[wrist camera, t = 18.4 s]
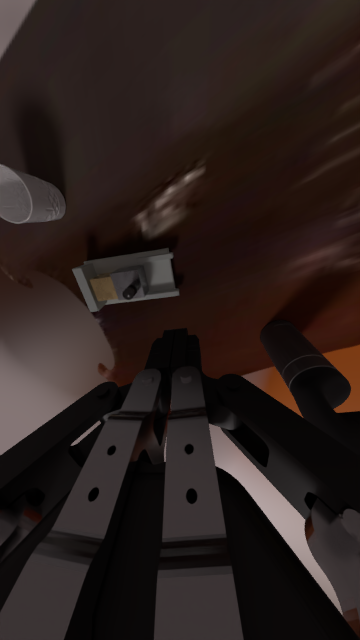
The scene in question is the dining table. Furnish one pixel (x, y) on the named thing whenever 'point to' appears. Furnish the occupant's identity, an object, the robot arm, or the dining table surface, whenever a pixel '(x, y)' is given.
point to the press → (153, 262)
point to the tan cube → (103, 287)
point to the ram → (130, 282)
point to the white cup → (28, 198)
